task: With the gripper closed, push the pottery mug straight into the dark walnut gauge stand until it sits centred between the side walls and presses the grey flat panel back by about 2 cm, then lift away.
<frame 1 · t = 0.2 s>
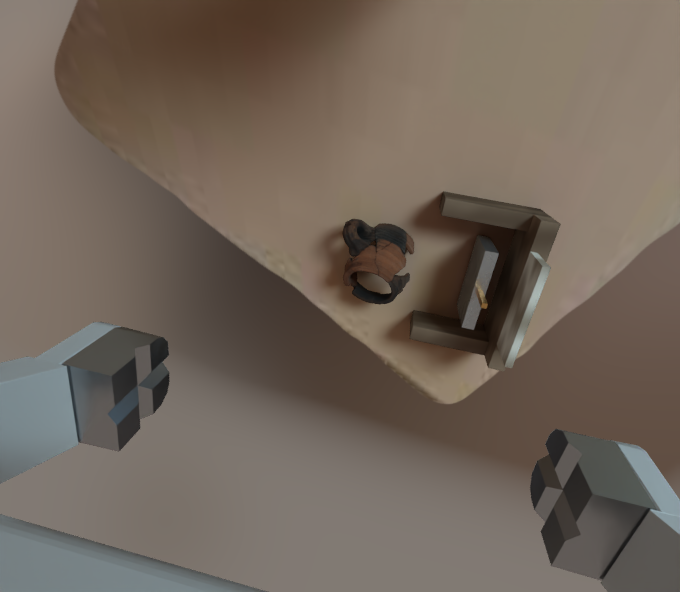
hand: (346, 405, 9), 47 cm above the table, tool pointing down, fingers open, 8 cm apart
grey flat panel: (477, 287, 50), point 6 cm above the table, slide at 0.0 cm
pottery mug: (376, 250, 57), on the table
gauge stand: (477, 271, 55), on the table
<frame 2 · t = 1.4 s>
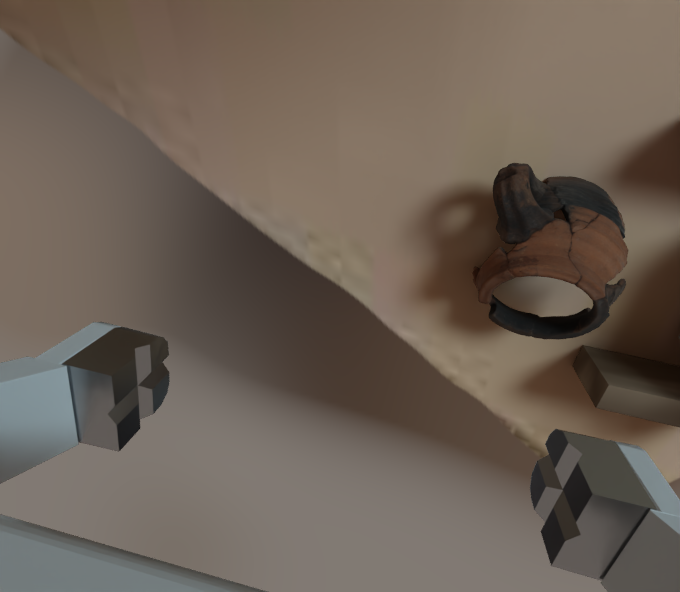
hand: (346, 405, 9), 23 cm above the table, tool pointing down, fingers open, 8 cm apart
pottery mug: (532, 231, 29), on the table
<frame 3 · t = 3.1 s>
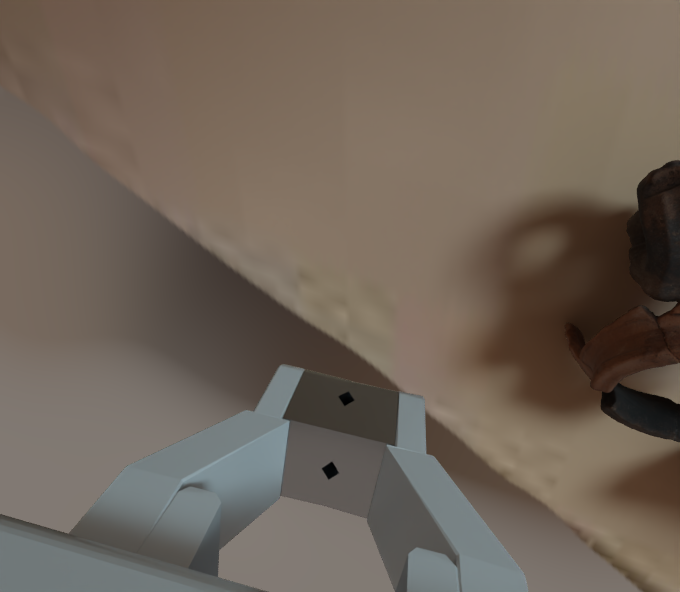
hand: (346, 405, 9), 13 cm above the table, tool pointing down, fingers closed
pottery mug: (659, 269, 19), on the table
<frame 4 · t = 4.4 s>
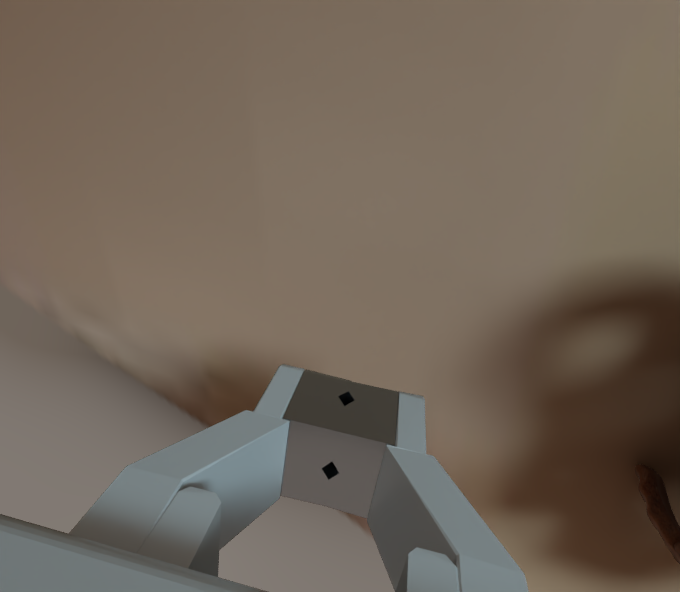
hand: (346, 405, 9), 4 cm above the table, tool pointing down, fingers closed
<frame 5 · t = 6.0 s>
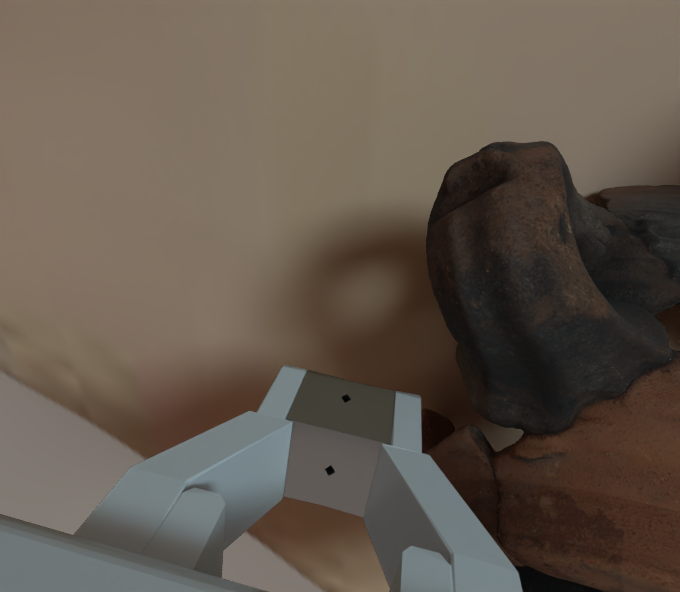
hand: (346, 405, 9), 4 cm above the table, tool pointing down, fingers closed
pottery mug: (559, 325, 12), on the table, touching gripper
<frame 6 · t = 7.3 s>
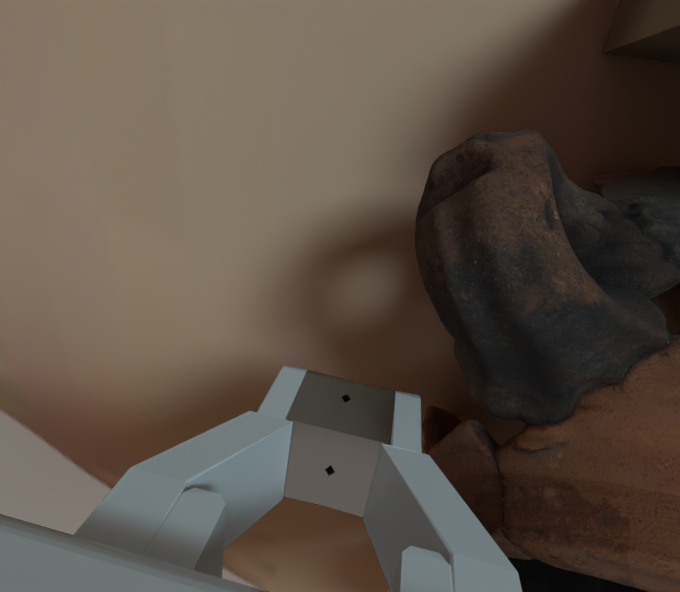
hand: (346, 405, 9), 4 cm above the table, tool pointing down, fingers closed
pottery mug: (561, 315, 11), on the table, touching gripper, grey flat panel
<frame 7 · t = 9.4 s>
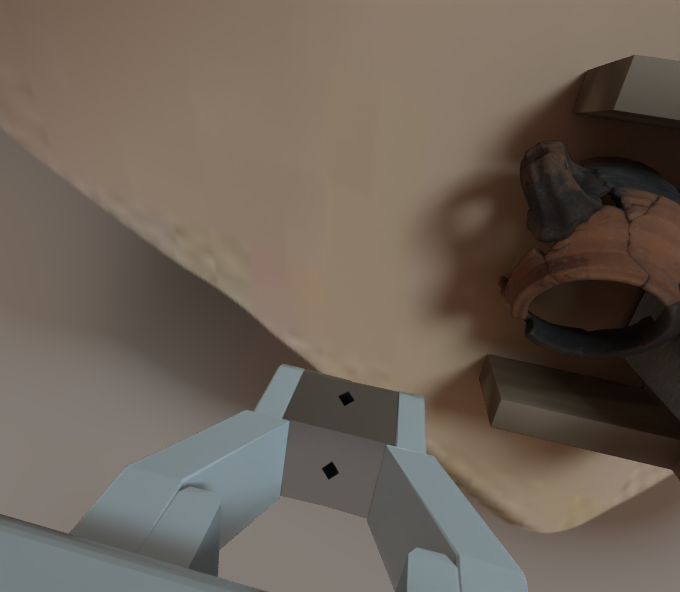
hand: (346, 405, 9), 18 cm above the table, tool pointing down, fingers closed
pottery mug: (566, 228, 24), on the table
gauge stand: (646, 272, 24), on the table
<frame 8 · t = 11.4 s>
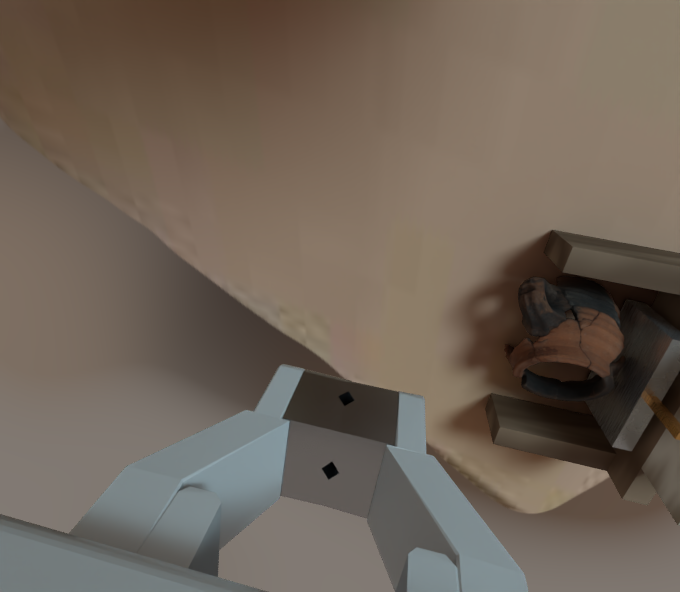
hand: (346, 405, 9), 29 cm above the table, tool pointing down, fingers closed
grey flat panel: (640, 387, 32), point 6 cm above the table, slide at 2.1 cm
pottery mug: (548, 315, 37), on the table
gauge stand: (593, 344, 37), on the table
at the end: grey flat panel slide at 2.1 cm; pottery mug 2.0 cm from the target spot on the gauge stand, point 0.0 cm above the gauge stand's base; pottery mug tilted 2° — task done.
